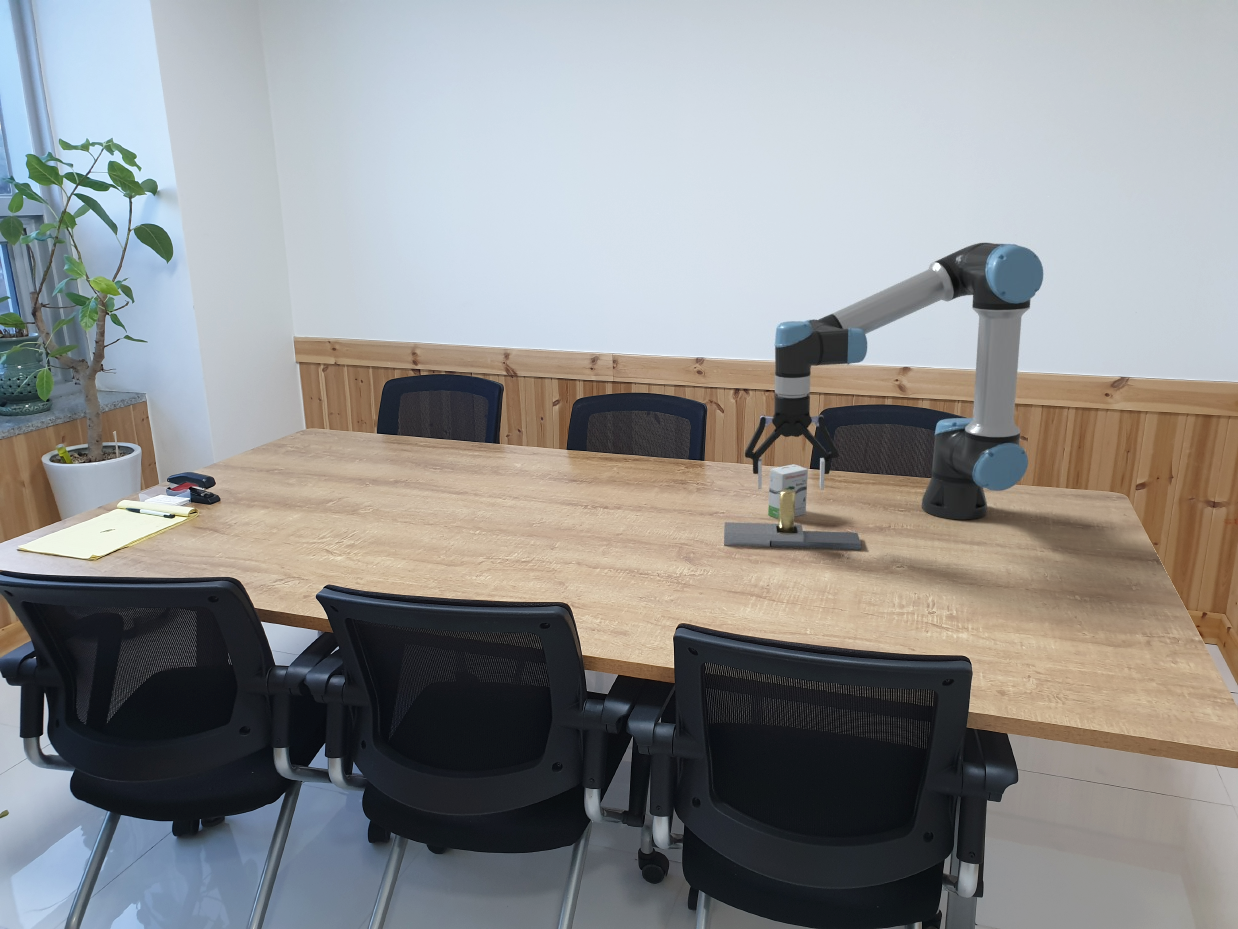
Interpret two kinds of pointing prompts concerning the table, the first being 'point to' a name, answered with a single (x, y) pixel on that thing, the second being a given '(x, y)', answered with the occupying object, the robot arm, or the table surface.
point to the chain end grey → (758, 534)
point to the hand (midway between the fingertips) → (790, 487)
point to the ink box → (792, 480)
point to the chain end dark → (824, 541)
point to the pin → (787, 511)
